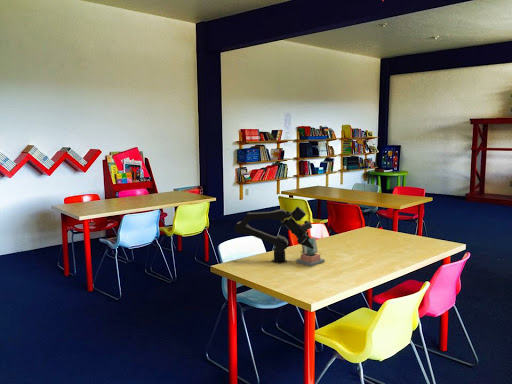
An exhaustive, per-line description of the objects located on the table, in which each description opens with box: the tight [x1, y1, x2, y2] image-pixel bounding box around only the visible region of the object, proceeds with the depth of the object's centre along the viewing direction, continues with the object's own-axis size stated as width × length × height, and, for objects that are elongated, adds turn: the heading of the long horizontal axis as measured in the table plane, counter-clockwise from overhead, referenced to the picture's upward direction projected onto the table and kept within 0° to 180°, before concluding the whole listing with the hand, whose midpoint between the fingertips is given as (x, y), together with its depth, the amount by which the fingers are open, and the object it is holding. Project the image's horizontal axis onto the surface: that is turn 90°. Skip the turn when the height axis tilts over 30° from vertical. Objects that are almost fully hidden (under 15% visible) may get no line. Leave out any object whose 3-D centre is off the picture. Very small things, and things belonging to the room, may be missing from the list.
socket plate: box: [295, 252, 325, 267], centre depth 253 cm, size 12×11×4 cm
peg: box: [307, 237, 314, 257], centre depth 252 cm, size 4×4×12 cm
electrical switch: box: [301, 237, 318, 254], centre depth 274 cm, size 9×5×9 cm, turn 116°
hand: (313, 246), depth 252 cm, fingers open, 9 cm apart
